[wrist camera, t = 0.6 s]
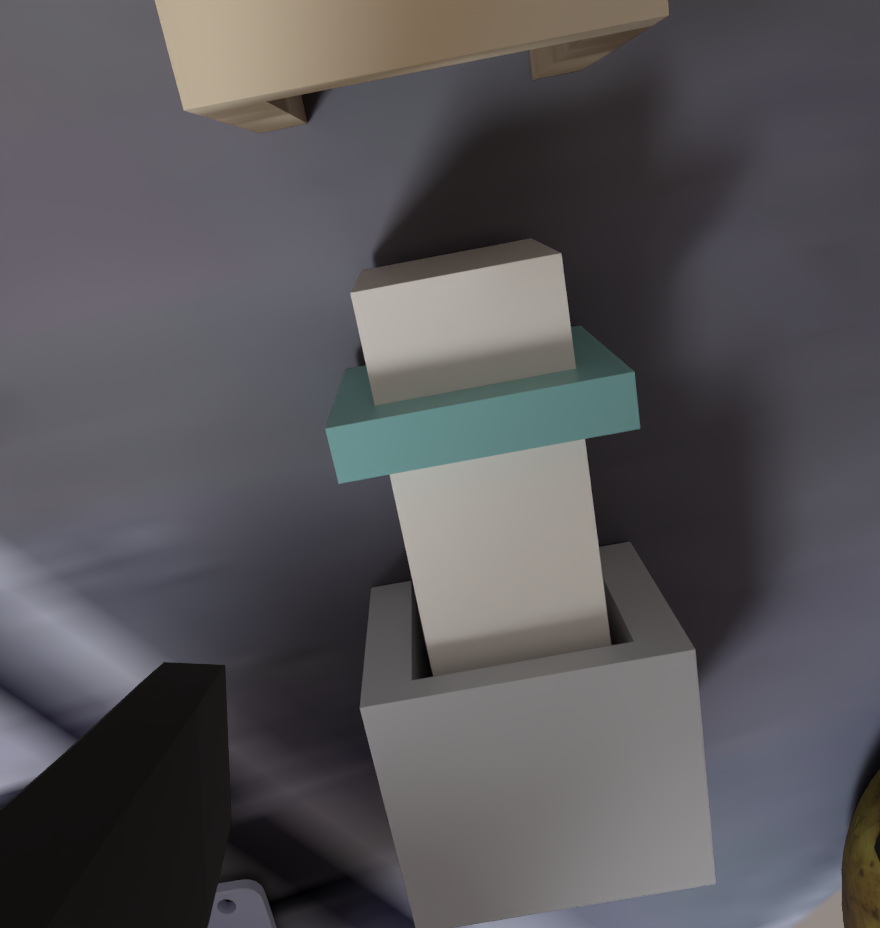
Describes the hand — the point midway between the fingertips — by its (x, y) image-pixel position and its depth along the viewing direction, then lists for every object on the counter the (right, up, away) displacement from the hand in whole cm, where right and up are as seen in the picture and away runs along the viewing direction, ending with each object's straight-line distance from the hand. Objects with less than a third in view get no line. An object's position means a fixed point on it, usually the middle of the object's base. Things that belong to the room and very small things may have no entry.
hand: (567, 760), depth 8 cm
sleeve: (+1, -2, +12) cm, 12 cm away
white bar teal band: (0, +2, +11) cm, 11 cm away
